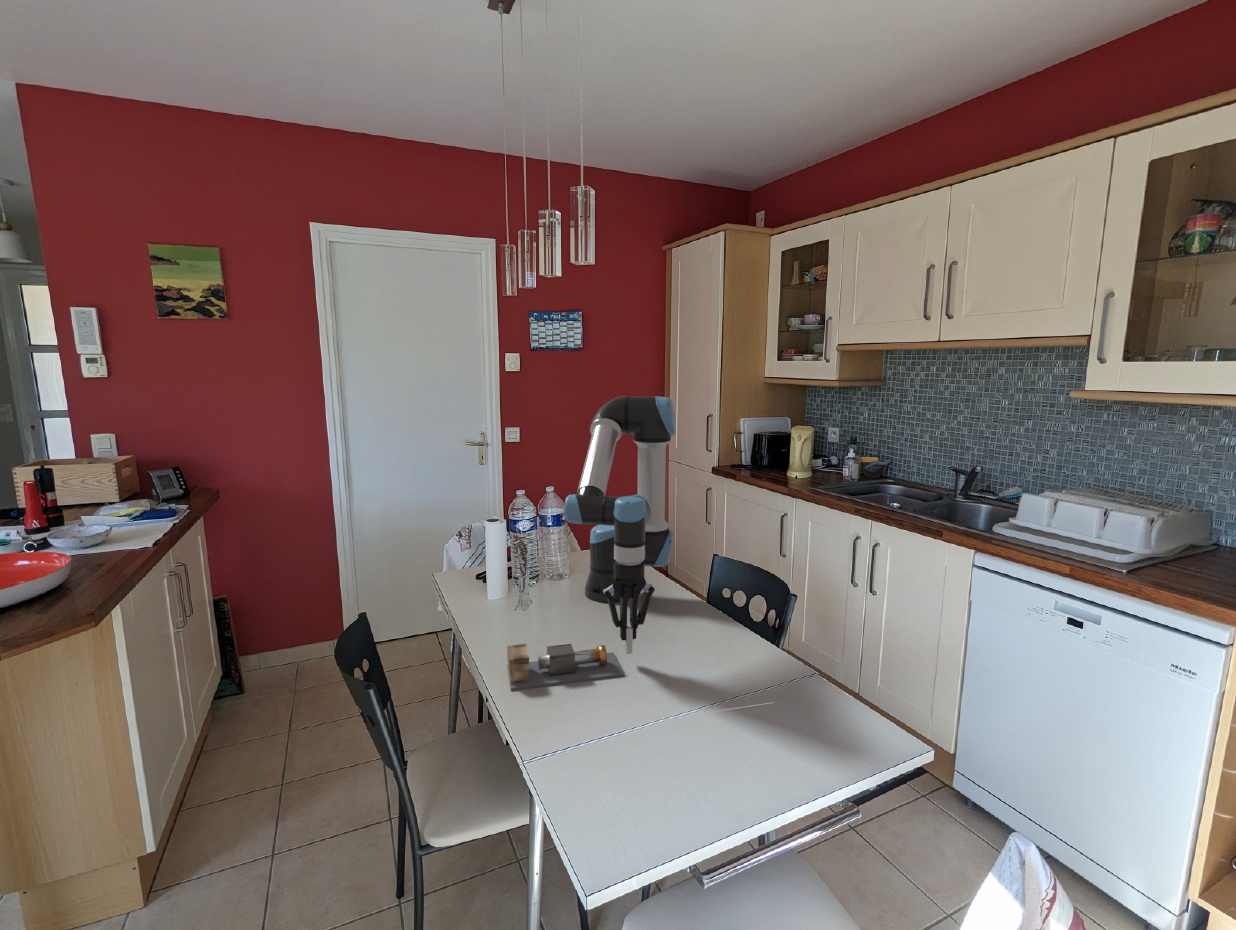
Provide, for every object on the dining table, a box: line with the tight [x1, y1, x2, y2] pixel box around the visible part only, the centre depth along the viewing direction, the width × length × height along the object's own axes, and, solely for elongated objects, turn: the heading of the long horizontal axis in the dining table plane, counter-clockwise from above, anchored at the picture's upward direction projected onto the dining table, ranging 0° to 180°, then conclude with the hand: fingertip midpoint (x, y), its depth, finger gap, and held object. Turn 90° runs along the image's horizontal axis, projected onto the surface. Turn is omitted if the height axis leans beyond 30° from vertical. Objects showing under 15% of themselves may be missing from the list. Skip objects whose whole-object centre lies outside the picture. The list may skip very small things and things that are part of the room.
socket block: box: [506, 643, 530, 685], centre depth 140 cm, size 4×7×6 cm, turn 15°
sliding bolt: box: [537, 644, 608, 670], centre depth 143 cm, size 16×5×5 cm, turn 105°
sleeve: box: [546, 643, 575, 677], centre depth 143 cm, size 6×5×5 cm
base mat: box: [506, 651, 625, 691], centre depth 143 cm, size 27×11×1 cm, turn 105°
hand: (627, 651), depth 147 cm, fingers closed
